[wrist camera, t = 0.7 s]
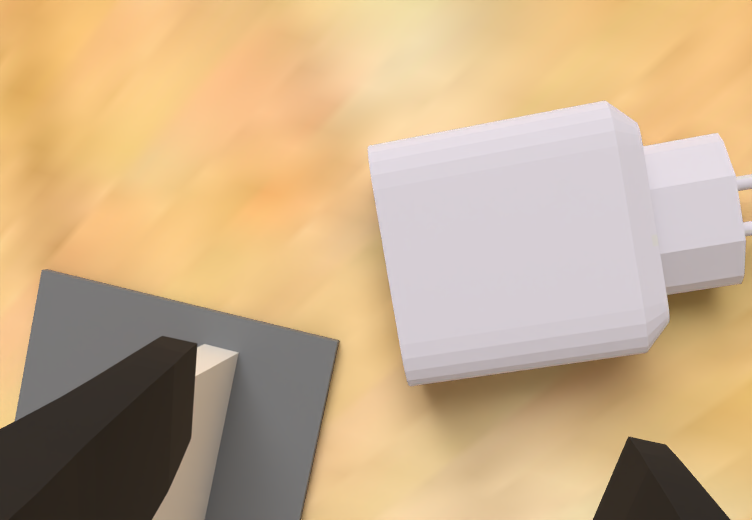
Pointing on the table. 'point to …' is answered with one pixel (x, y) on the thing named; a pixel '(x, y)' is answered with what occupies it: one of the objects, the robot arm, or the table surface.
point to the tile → (202, 436)
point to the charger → (549, 239)
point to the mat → (203, 326)
